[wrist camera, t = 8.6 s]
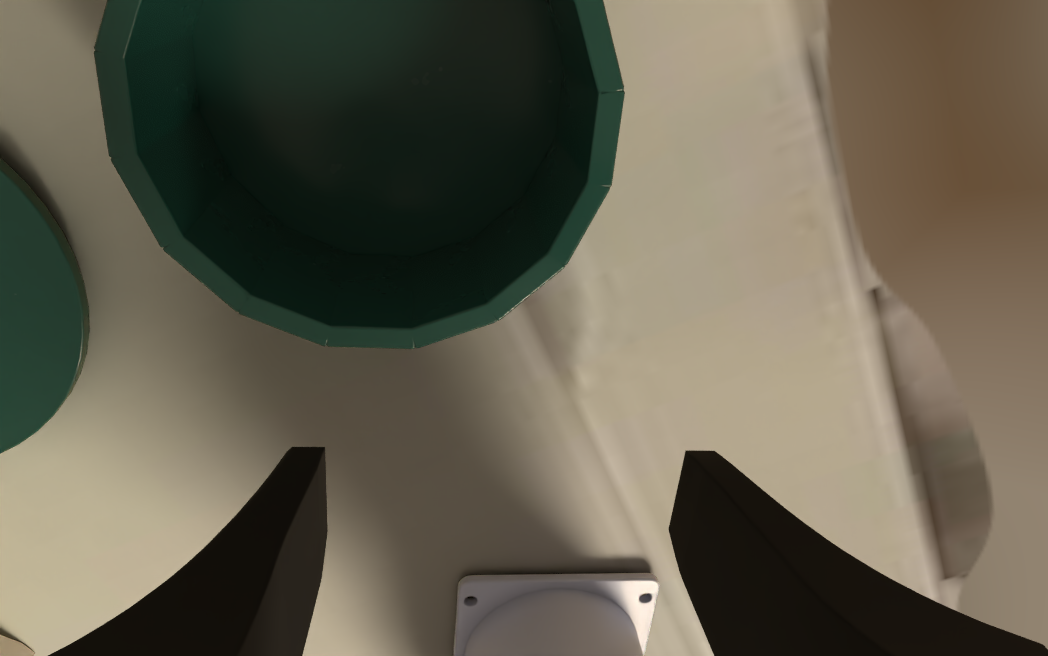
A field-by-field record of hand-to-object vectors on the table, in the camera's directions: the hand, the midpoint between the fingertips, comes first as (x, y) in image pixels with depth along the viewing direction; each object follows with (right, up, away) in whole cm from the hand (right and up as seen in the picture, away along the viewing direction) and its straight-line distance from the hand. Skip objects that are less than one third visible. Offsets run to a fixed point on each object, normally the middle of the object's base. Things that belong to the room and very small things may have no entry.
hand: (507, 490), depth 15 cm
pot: (-4, +10, +6) cm, 12 cm away
